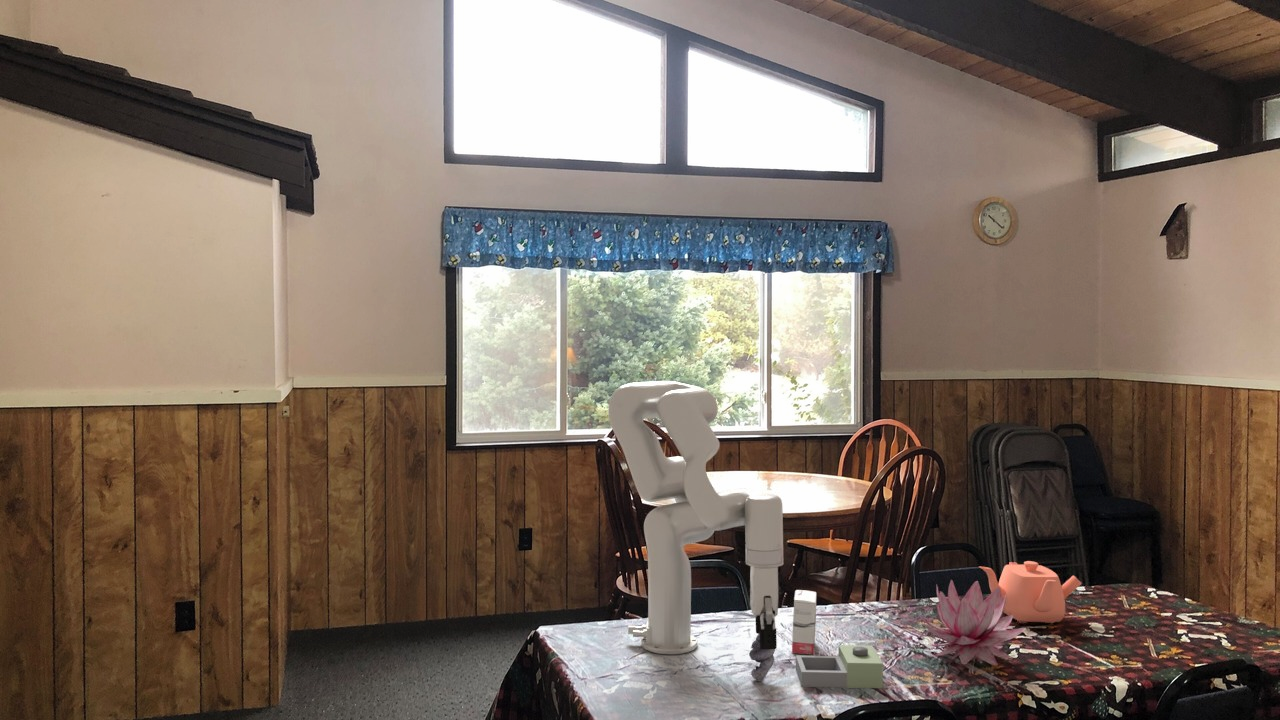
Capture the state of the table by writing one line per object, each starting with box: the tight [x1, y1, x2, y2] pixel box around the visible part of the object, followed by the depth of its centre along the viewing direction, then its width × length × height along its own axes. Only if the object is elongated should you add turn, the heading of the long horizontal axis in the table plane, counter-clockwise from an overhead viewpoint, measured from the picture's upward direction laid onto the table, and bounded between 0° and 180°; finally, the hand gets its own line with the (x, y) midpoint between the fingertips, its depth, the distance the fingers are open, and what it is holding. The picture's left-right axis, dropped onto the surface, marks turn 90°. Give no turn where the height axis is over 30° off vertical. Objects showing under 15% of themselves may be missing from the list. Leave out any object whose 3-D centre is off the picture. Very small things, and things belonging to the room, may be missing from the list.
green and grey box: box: [795, 644, 884, 689], centre depth 189 cm, size 16×10×6 cm, turn 88°
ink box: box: [791, 589, 817, 656], centre depth 206 cm, size 9×5×12 cm, turn 168°
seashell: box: [748, 633, 776, 682], centre depth 188 cm, size 5×5×10 cm
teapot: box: [979, 560, 1083, 624], centre depth 227 cm, size 18×18×14 cm
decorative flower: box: [916, 579, 1027, 666], centre depth 201 cm, size 21×21×15 cm
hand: (765, 640), depth 187 cm, fingers open, 9 cm apart
